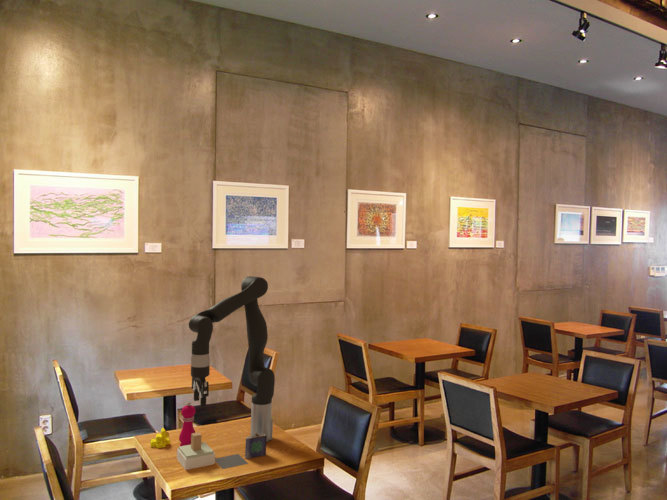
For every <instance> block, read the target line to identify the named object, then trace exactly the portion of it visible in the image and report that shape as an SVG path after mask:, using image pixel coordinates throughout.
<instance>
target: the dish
mask: <svg viewBox="0 0 667 500" xmlns="http://www.w3.org/2000/svg"><path fill="white" fill-rule="evenodd" d="M215 458H216V453H215V452H214V454H209V455H204V456H199V457H194V458H189V459H186V458H185V456H184V455H183V454H182V453H181V452H180V450H179V448H177V449H176V460H177V461H178V462H179V464H180V465H181V466H182V468H183V469H184V470H185V471H187V470H192V469H197V468H202V467H208V466H211V465H215V464H216V462H215Z"/></svg>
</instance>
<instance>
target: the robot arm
mask: <svg viewBox="0 0 667 500" xmlns="http://www.w3.org/2000/svg"><path fill="white" fill-rule="evenodd" d="M240 287H241V288H240V289H241V291H239V292H238V293H236V294H233V295H231V296H228V297H226V298H223V299H222V300H220V301H218V302H217V303H216V304H214V305H213V306H211V307H209V308H207V309H205V310H203V311H200V312H198V313H196V314H194V315H193V316H192V317H191V318H190V320H189V321H188V328H189V330H190V331H191V332H194V333H196V335H197V336H196V338H195V339H193V340H192V343H191V357H190V376H191V390H192V392H193V401H194V402H198V401H200V407H201V408H202V407H206V406H207V398H208V397H209V393H210V390H209V389H210V388H209V387H210V385H209V384H210V383H209V381H207V380H206V378H207V377H209V376H210V372H211V371H210V369H211V368H210V367H211V366H210V361H211V360H210V359H211V357H210V342H211V338H212V334H213V330H214V324H213V323H220V322H221V321H223V320H224V319H225V318H227V317H228V316H230V315H231V314H232V313H234V312H236V311H237V310H238V309H241V308H242V307H244V312H245V315H244V316H245V321H246V325H245V326H246V335H247V347H248V357H249V359H248V378H249V382H250V383H251V384H252V385H253V386H255V387H256V392H255V394H253V395H252V396H251V403H250V404H251V406H250V408H251V410H250V412H251V413H250V436H253V435H254V433H255V431H257V433H258V434H266V436H267V437H266V443H268V442H270V441H272V440H273V434H274V433H273V429H274V428H273V426H274V419H273V418H272V403H273V402H272V401H273V397H274V395H275V394H274V392H275V383H276V382H275V381H276V379H275V377H276V376H275V372H274V370H272V369H271V368H269V367H266V366H265V361H264V351H265V348H266V345H267V342H268V339H269V337H268V326H267V322H266V319H265V316H264V315H263V313H262V311H261V309H260V306H259V301H258V299H260V298H261V297H264V295H266V293H267V292H268V290H269V284H268V281H267V280H266V279H265V278H263V277H260V276H251V275H249V276H245V277H244V278H243V280H242V281H241V286H240Z"/></svg>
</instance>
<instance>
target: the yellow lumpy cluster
mask: <svg viewBox="0 0 667 500" xmlns="http://www.w3.org/2000/svg"><path fill="white" fill-rule="evenodd" d="M168 444H170V445H171V440H170V433H169V432H168V431H167V430H166V429H165V428H164V427H162V428H161V429H160V433H157V434H156V435H155V438H152V439H151V440H150V445H149V446H150V448H155V447H156V449H161V448H166V447H167V446H169V445H168Z"/></svg>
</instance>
